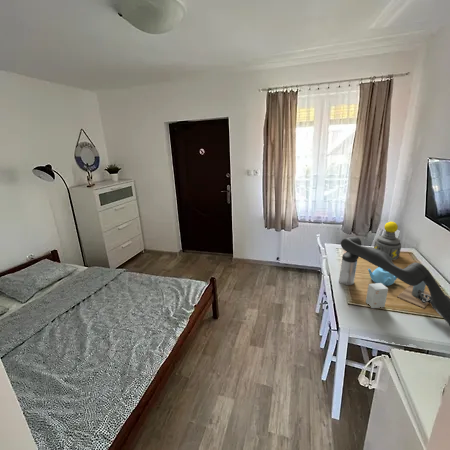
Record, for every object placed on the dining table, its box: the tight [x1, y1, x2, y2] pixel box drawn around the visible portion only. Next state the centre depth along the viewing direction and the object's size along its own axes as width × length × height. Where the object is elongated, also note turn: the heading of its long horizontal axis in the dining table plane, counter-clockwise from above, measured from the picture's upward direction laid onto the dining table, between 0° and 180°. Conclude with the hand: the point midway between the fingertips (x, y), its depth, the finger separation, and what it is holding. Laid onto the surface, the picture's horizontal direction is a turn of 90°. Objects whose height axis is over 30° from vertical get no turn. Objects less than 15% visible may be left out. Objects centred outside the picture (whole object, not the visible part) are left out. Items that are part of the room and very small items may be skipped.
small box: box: [365, 282, 389, 309], centre depth 147 cm, size 8×6×13 cm
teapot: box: [367, 266, 398, 287], centre depth 171 cm, size 15×15×11 cm
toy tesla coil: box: [373, 221, 402, 261], centre depth 204 cm, size 19×19×30 cm
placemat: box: [396, 285, 431, 309], centre depth 155 cm, size 20×14×1 cm
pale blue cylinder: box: [412, 281, 427, 298], centre depth 153 cm, size 6×6×11 cm
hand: (427, 291), depth 145 cm, fingers open, 8 cm apart
